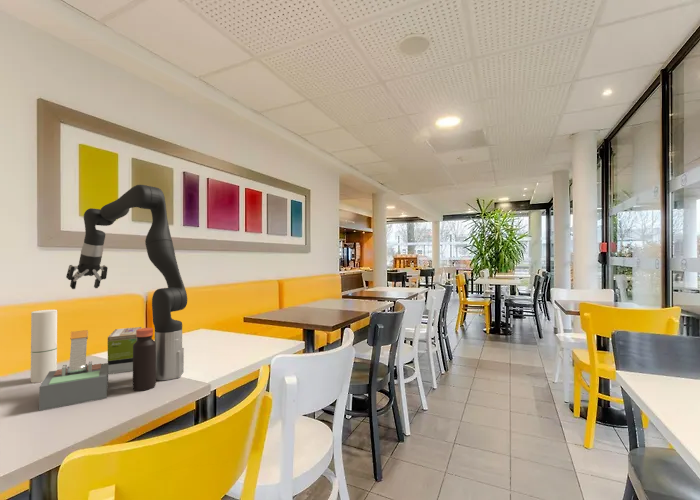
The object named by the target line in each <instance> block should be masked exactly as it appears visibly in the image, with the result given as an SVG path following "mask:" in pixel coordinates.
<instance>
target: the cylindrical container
mask: <svg viewBox="0 0 700 500" xmlns="http://www.w3.org/2000/svg"><path fill="white" fill-rule="evenodd" d="M30 314H31V318H30V319H31V322H30V323H31V324H30V325H31V328H30V333H31V334H30V383H31V384H32V383H33V384H36V383H38V384H39V383H42V382H43V381H44V379H45V378H46V376H47V374H48V373H49V371H56V370H58V369H57V368H58V367H57V364H58V360H57V359H58V310H57V309H43V310H42V309H40V310H34V311H31V313H30Z"/></svg>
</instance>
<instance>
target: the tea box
mask: <svg viewBox="0 0 700 500" xmlns="http://www.w3.org/2000/svg"><path fill="white" fill-rule="evenodd" d="M141 328H142V326H138V327H126V328H117V329H116V328H115V329H114V330H113V331H112V332H111V333H110V334H109V335H108V336H107V363H108V375H113V373H114V374H120V373H127V372H128V373H130V372H133V345H134V343H135V342H136V341H137V337H136V330H137V329H141Z"/></svg>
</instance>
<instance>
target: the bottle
mask: <svg viewBox="0 0 700 500" xmlns="http://www.w3.org/2000/svg"><path fill="white" fill-rule="evenodd" d="M153 331H154V328H153V327H141V329H137V330H136V337H137V341H136V342H135V343H134V345H133V371H132V390H134V391H135V392H144V391H148V390H151V389H153V388H154V387H156V385H157V383H156V381H157V380H156V342H155V339H153V335H154V332H153Z"/></svg>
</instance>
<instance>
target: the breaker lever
mask: <svg viewBox="0 0 700 500" xmlns="http://www.w3.org/2000/svg"><path fill="white" fill-rule="evenodd" d="M88 338H89V331H88V329H85V330H75V331H71V332H70V342H71V343H70V353H69V365H68V366H67V374H74V373H80V372H87V365H88V364H87V361H86V360H87V348H88V347H87V344H88Z"/></svg>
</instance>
